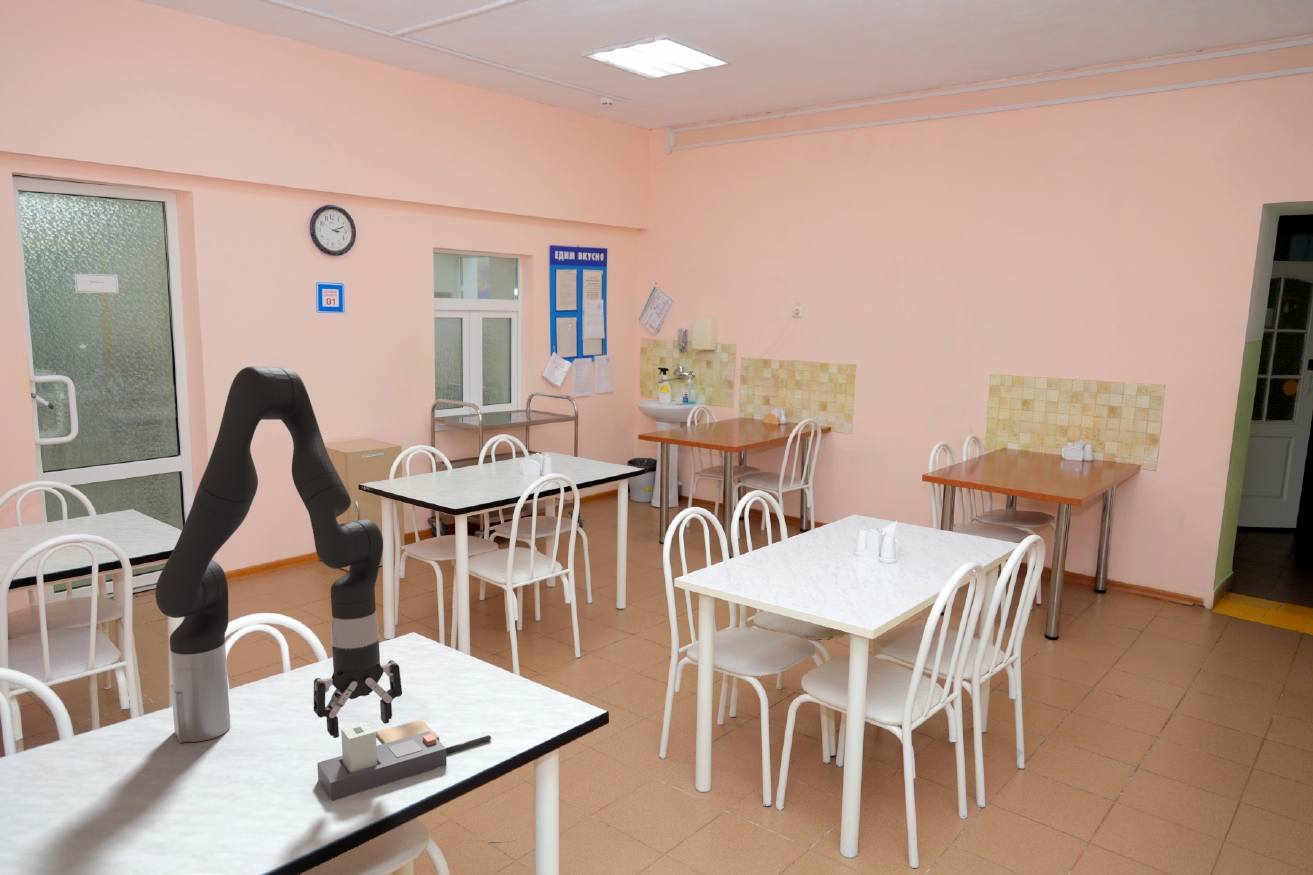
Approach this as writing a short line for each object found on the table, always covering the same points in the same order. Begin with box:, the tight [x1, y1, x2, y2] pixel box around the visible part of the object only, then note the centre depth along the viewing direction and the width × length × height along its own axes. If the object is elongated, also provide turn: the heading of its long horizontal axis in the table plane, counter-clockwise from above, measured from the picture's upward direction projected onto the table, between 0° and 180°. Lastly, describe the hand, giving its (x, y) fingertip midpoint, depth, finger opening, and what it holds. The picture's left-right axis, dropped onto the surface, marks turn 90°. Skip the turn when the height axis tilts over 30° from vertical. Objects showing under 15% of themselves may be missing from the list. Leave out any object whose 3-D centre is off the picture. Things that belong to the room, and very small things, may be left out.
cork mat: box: [376, 719, 440, 744], centre depth 165 cm, size 9×9×1 cm
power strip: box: [317, 731, 492, 802], centre depth 155 cm, size 30×8×4 cm, turn 126°
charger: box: [340, 721, 378, 774], centre depth 149 cm, size 4×4×7 cm
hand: (360, 728), depth 148 cm, fingers open, 8 cm apart
